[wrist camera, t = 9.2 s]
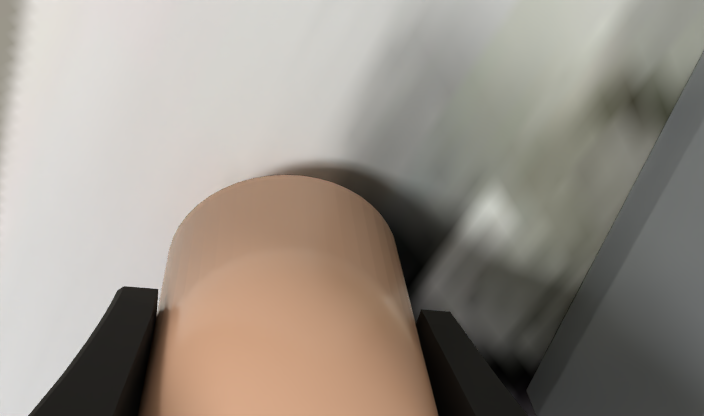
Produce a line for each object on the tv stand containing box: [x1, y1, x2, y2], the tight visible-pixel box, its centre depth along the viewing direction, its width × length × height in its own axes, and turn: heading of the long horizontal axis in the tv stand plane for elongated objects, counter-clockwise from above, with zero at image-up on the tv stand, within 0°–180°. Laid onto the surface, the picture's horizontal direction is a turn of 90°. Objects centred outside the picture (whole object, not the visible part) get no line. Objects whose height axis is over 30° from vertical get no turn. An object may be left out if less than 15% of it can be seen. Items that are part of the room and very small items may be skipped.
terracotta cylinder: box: [138, 175, 439, 416], centre depth 12 cm, size 5×5×7 cm
